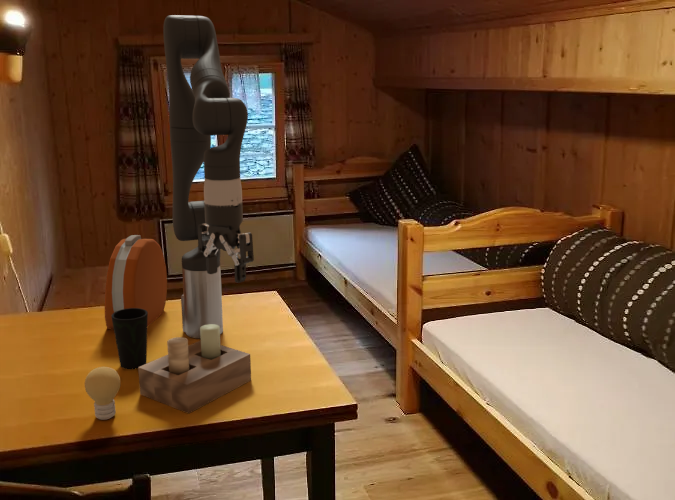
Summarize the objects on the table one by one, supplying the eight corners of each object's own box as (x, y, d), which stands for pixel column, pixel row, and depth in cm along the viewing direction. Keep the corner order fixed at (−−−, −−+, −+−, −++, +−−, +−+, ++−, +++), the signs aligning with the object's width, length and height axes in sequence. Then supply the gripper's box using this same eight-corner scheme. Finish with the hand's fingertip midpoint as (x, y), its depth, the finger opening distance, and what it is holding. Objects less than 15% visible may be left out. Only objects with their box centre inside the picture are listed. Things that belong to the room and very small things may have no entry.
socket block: (140, 394, 144) (138, 367, 142) (204, 364, 158) (202, 339, 157) (188, 413, 136) (186, 384, 135) (251, 380, 151) (250, 354, 149)
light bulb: (92, 409, 138) (88, 361, 135) (126, 408, 138) (122, 360, 136) (84, 425, 132) (79, 376, 129) (119, 424, 132) (114, 375, 130)
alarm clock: (135, 305, 197) (129, 225, 191) (169, 306, 195) (164, 227, 190) (99, 334, 176) (91, 246, 170) (136, 336, 174) (130, 247, 168)
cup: (157, 360, 161) (154, 310, 158) (138, 373, 154) (134, 321, 151) (129, 355, 163) (125, 306, 160) (108, 368, 156) (103, 317, 153)
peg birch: (165, 373, 142) (162, 341, 140) (179, 366, 145) (178, 335, 143) (178, 378, 140) (176, 346, 138) (193, 371, 143) (192, 340, 141)
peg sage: (197, 358, 149) (196, 328, 147) (211, 352, 152) (209, 322, 150) (211, 363, 147) (209, 332, 145) (224, 356, 150) (223, 326, 148)
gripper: (185, 198, 143) (189, 274, 147) (233, 208, 134) (235, 289, 138) (214, 193, 148) (217, 267, 153) (261, 202, 140) (263, 280, 144)
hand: (226, 277), depth 145 cm, fingers open, 8 cm apart
